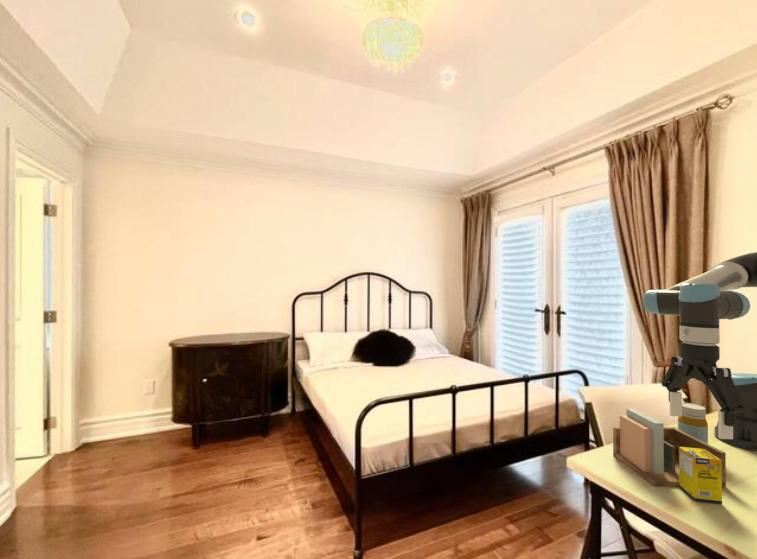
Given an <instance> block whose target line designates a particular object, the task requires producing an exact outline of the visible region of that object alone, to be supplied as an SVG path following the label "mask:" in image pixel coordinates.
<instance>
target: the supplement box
mask: <svg viewBox="0 0 757 559" xmlns="http://www.w3.org/2000/svg"><path fill="white" fill-rule="evenodd" d="M678 487H679V489H680V490H682V491H683V492H684V493H685V494H686V495H687V496H688V497H690V498H691V499H693V500H692V501H694V502H701V503H709V504H718V505H723V487H722V460H721V459H719V458H717V457H716V456H714V455H713V454H711V453H710V452H708V451H707V450H705V449H699V448H688V447H679V486H678Z"/></svg>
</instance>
